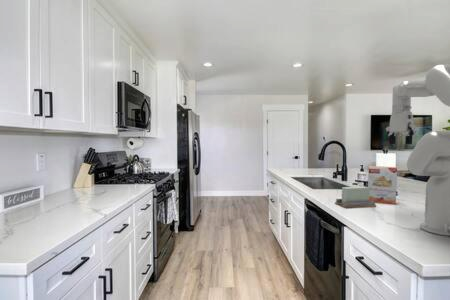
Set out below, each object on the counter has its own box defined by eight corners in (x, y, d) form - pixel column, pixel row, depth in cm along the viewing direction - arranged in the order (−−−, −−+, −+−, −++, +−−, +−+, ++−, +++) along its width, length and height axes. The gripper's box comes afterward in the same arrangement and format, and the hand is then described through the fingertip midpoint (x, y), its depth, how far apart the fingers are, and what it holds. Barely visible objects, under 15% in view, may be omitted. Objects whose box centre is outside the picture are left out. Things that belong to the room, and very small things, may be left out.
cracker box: (367, 201, 149) (368, 166, 148) (367, 199, 155) (368, 165, 154) (396, 204, 143) (397, 167, 142) (394, 202, 148) (395, 166, 147)
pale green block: (369, 204, 140) (369, 187, 140) (346, 205, 138) (346, 188, 138) (364, 202, 144) (364, 186, 144) (341, 203, 142) (342, 187, 142)
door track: (376, 207, 138) (376, 201, 138) (346, 208, 135) (346, 202, 135) (363, 202, 148) (363, 197, 148) (334, 203, 145) (335, 198, 145)
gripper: (423, 107, 119) (422, 144, 119) (393, 111, 136) (392, 143, 137) (410, 107, 118) (408, 144, 118) (381, 111, 135) (380, 143, 135)
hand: (400, 144), depth 127 cm, fingers open, 9 cm apart
